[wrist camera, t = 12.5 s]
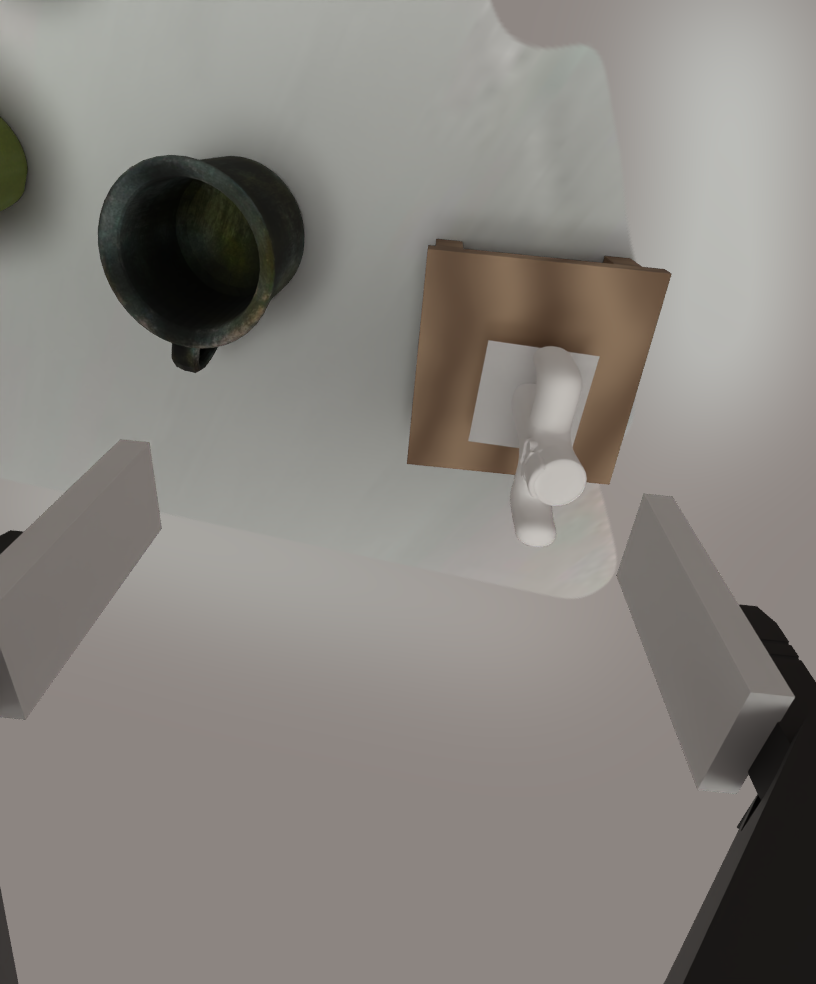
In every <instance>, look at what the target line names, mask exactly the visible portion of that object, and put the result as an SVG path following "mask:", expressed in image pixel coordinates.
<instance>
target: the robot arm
mask: <svg viewBox="0 0 816 984" xmlns="http://www.w3.org/2000/svg"><path fill="white" fill-rule="evenodd" d="M161 529H162V528H161V520H160V513H159V506H158V499H157V492H156V485H155V478H154V471H153V464H152V457H151V450H150V443H149V442H141V441H131V440H122V439H120V440H119V441H118V442H117V443H116V444H115V445H114V446H113V447H112V448H111V449H110V450H109V451H108V452H107V453H106V454H105V455H104V456H103V457H102V458H101V459H100V460H98V461H97V462H96V463H95V464H94V465H93V466H92V467H91V468H90V469H89V470H88V471H87V472H86V473H85V474H84V475H83V476H82V477H81V478H80V479H79V480H78V481H77V482H76V483H74V484H73V485H72V486H71V487H70V488H69V489H68V490H67V491H66V492H65V493H64V494H63V495H62V496H61V497H60V498H59V499H58V500H57V501H56V502H55V503H54V504H53V505H51V506H50V507H49V508H48V509H47V511H45V512H44V513H43V514H42V515H41V516H40V517H39V518H38V519H37V520H36V521H35V522H34V523H33V524H32V525H31V526H30V527H29V528H28V529H26V530H25V531H24V532H22V531H11V530H10V531H8V532H6V533H5V534H3V535H1V536H0V717H4V718H14V719H23V720H25V719H26V718H27V717H28V715H29V714H30V713H31V711H32V710H33V709H34V707H35V706H36V704H37V703H38V702H39V700H40V699H41V697H42V696H43V695H44V693H45V692H46V690H47V689H48V688H49V686H50V685H51V683H52V682H53V680H54V679H55V678H56V676H57V675H58V673H59V672H60V671H61V669H62V668H63V666H64V665H65V664H66V662H67V661H68V659H69V658H70V657H71V655H72V654H73V652H74V651H75V650H76V648H77V647H78V645H79V644H80V642H81V641H82V639H83V638H84V637H85V635H86V634H87V633H88V631H89V630H90V628H91V627H92V626H93V624H94V623H95V621H96V620H97V619H98V617H99V616H100V614H101V613H102V612H103V610H104V609H105V607H106V606H107V605H108V603H109V601H110V600H111V599H112V598H113V596H114V595H115V593H116V592H117V590H118V589H119V588H120V586H121V584H122V583H123V582H124V581H125V579H126V577H127V576H128V575H129V573H130V572H131V571H132V569H133V568H134V566H135V565H136V564H137V562H138V561H139V559H140V558H141V557H142V555H143V554H144V552H145V551H146V550H147V548H148V547H149V545H150V544H151V543H152V541H153V540H154V538H155V537H156V536H157V534H158V533H159V531H160V530H161ZM616 576H617V578H618V581H619V584H620V586H621V589H622V592H623V594H624V597H625V600H626V602H627V605H628V607H629V610H630V613H631V615H632V618H633V621H634V623H635V626H636V629H637V631H638V634H639V636H640V639H641V642H642V645H643V647H644V650H645V652H646V655H647V658H648V660H649V663H650V666H651V668H652V671H653V673H654V676H655V679H656V682H657V684H658V686H659V689H660V692H661V695H662V697H663V700H664V703H665V705H666V708H667V711H668V713H669V716H670V719H671V721H672V724H673V727H674V729H675V731H676V734H677V737H678V739H679V742H680V745H681V748H682V750H683V753H684V756H685V758H686V761H687V763H688V766H689V769H690V771H691V774H692V777H693V779H694V782H695V785H696V787H697V790H703V791H713V792H723V793H732V794H737V793H738V791H739V789H740V788H741V786H742V784H743V783H744V781H745V779H746V778H747V776H748V774H749V776H750V778H751V780H752V782H753V785H754V787H755V789H756V791H757V793H758V794H757V796H756V798H755V799H754V801H753V802H752V804H751V805H750V807H749V809H748V810H747V812H746V813H745V815H744V816H743V818H742V820H741V821H740V823H739V824H738V826H737V828H739V830H738V833H737V835H736V837H735V839H734V841H733V843H732V845H731V847H730V849H729V851H728V853H727V855H726V857H725V859H724V861H723V863H722V865H721V867H720V870H719V872H718V874H717V876H716V878H715V880H714V882H713V884H712V886H711V888H710V890H709V892H708V894H707V896H706V898H705V900H704V902H703V904H702V907H701V909H700V911H699V913H698V915H697V917H696V919H695V921H694V923H693V925H692V927H691V929H690V931H689V933H688V935H687V937H686V939H685V941H684V943H683V946H682V948H681V950H680V952H679V954H678V956H677V958H676V960H675V962H674V964H673V966H672V968H671V970H670V972H669V974H668V976H667V979H666V981H665V982H664V984H816V682H815V680H814V679H813V677H812V676H811V675H810V673H809V671H808V670H807V668H806V667H805V665H804V664H803V662H802V661H801V660H799V659H798V657H799V656H798V655H797V653H796V652H795V650H794V649H793V647H792V646H791V645H789V644H788V643H789V641H788V640H787V638H786V637H785V635H784V634H783V632H782V631H781V629H780V628H779V626H778V625H777V623H776V622H775V621H773V620H772V619H771V618H770V617H769V616H767V615H766V614H765V613H764V612H763V611H762V610H760V609H759V608H758V607H756V606H748V605H739V604H738V603H737V601H736V600H735V598H734V596H733V595H732V593H731V591H730V590H729V588H728V586H727V585H726V583H725V582H724V580H723V578H722V577H721V575H720V573H719V572H718V570H717V568H716V567H715V565H714V564H713V562H712V561H711V559H710V557H709V555H708V554H707V552H706V550H705V549H704V547H703V546H702V544H701V542H700V541H699V539H698V537H697V536H696V534H695V532H694V531H693V529H692V527H691V526H690V524H689V523H688V521H687V519H686V518H685V516H684V514H683V513H682V511H681V509H680V508H679V506H678V505H677V503H676V501H675V500H674V498H673V497H672V496H661V495H652V494H643V497H642V500H641V503H640V507H639V510H638V513H637V515H636V519H635V521H634V524H633V527H632V530H631V534H630V536H629V539H628V542H627V546H626V549H625V551H624V554H623V557H622V560H621V563H620V566H619V569H618V572H617V575H616ZM0 984H18V979H17V974H16V968H15V963H14V958H13V953H12V947H11V942H10V937H9V931H8V926H7V921H6V916H5V910H4V905H3V900H2V894H1V889H0Z"/></svg>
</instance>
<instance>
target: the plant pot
mask: <svg viewBox="0 0 816 984" xmlns="http://www.w3.org/2000/svg"><path fill="white" fill-rule="evenodd" d="M26 176H27V162H26V158H25V155H24V151H23V149H22V147H21V145H20V142H19V141H18V139H17V137H16V136H15V134H14V133H13V131H12V130H11V128H10V127H9V126H8V125H7V124H6V123H5V122H4V120H3V119H2V118H0V211H2V210H4V209H6V208H8V207H9V206H11V205H13V204H14V203H16V202H17V201H18V200H19V199H20V197H21V196H22V194H23V192H24V189H25V183H26Z"/></svg>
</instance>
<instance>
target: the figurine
mask: <svg viewBox="0 0 816 984" xmlns="http://www.w3.org/2000/svg"><path fill="white" fill-rule="evenodd" d="M599 357H600V356H593V355H586V354H579V353H573V352H567V351H566V350H564V349H562V348H560V347H555V346H547V347H543V348H538V347H531V346H524V345H517V344H510V343H504V342H497V341H490V340H488V345H487V350H486V355H485V360H484V365H483V370H482V375H481V380H480V385H479V390H478V395H477V400H476V405H475V410H474V415H473V420H472V425H471V430H470V435H469V440H468V441H471V442H479V443H486V444H493V445H500V446H507V447H514V448H519V460H518V466H517V470H516V474H515V478H514V482H513V485H512V489H511V495H510V504H511V511H512V517H513V522H514V528H515V533H516V536H517V538H518V539H519V540H520V541H521V542H522V543H524V544H526V545H528V546H532V547H545V546H548V545H550V544H551V543H552V542H553V541H554V540H555V538H556V528H555V524H554V520H553V514H552V506H561V505H565V504H568V503H571V502H572V501H574V500H575V499H577V498H578V497H579V496H580V495H581V493H582V492H583V490H584V488H585V486H586V481H587V477H586V472H585V470H584V468H583V466H582V465H581V463H580V461H579V460H578V458H577V456H576V455H575V453H574V450H573V448H572V447H573V444H574V440H575V437H576V434H577V430H578V427H579V424H580V420H581V417H582V414H583V410H584V407H585V404H586V400H587V397H588V394H589V390H590V387H591V384H592V380H593V377H594V374H595V370H596V367H597V364H598V360H599Z"/></svg>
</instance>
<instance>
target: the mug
mask: <svg viewBox="0 0 816 984" xmlns="http://www.w3.org/2000/svg"><path fill="white" fill-rule="evenodd" d="M98 246H99V252H100V259H101V262H102V266H103V269H104V272H105V275H106V277H107V280H108V282H109V284H110V286H111V288H112V290H113V292H114V293H115V295H116V297H117V298H118V300H119V302H120V303H121V304H122V305H123V307H124V308H125V309H126V310H127V312H128V313H129V314H130V315H131V316H132V317H133V318H134V319H135V320H136V321H137V322H138V323H139V324H141V325H142V326H143V327H144V328H146V329H147V330H148V331H150V332H151V333H153V334H155V335H156V336H158V337H160V338H162V339H164V340H166V341H169V342H171V343H172V360H173V362H174V363H175V365H176V366H177V367H179V368H181V369H183V370H185V371H189V372H194V373H196V372H198V371H200V370H202V369H203V368H205V367H206V365H207V364H208V363H209V361H210V360H211V358H212V357H213V355H214V353H215V351H216V350H217V348H218V346H222V345H226V344H229V343H231V342H233V341H235V340H238V339H239V338H241V337H242V336H243V335H245V334H246V333H248V332H249V331H250V330H251V329H252V328H253V327H254V326H255V325H256V324H257V322H258V321H259V320H260V318H261V317H262V315H263V314H264V312H265V310H266V308H267V306H268V304H269V302H270V300H271V299H272V298H273V297H274V296H275V295H276V294H277V293H278V292H279V291H281V290H282V289H283V288H284V287H285V286H286V285H287V284H288V283H289V281H290V280H291V279H292V277H293V276H294V274H295V273H296V271H297V268H298V266H299V264H300V261H301V258H302V254H303V247H304V229H303V222H302V218H301V214H300V211H299V208H298V206H297V204H296V201H295V199H294V197H293V196H292V194H291V192H290V191H289V189H288V188H287V186H286V185H285V184H284V183H283V182H282V180H281V179H280V178H279V177H278V176H277V175H275V174H274V173H273V172H272V171H271V170H269V169H268V168H266V167H265V166H263V165H262V164H260V163H257V162H255V161H253V160H250V159H247V158H243V157H235V156H226V157H217V158H210V159H202V160H197V159H194V158H190V157H186V156H176V155H166V156H156V157H153V158H150V159H147V160H143V161H141V162H139V163H138V164H136V165H134V166H132V167H130V168H129V169H128V170H127V171H126V172H125V173H123V174H122V175H121V176H120V177H119V178H118V180H117V181H116V182H115V183H114V185H113V186H112V187H111V189H110V191H109V193H108V195H107V197H106V199H105V200H104V203H103V207H102V210H101V213H100V218H99V225H98Z"/></svg>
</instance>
